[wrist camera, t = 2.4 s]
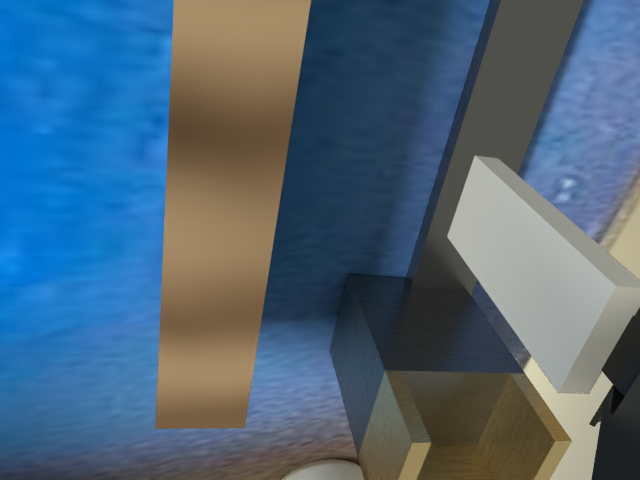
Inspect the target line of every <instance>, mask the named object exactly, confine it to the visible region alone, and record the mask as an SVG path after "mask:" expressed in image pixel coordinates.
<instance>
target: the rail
mask: <svg viewBox="0 0 640 480" xmlns="http://www.w3.org/2000/svg"><path fill="white" fill-rule="evenodd" d="M310 4H311V0H174V15H173V38H172V61H171V84H170V107H169V130H168V153H167V176H166V199H165V222H164V245H163V268H162V291H161V314H160V337H159V360H158V383H157V406H156V429H177V428H245V422H246V416H247V409H248V403H249V396H250V390H251V383H252V377H253V371H254V364H255V358H256V351H257V345H258V338H259V332H260V326H261V319H262V313H263V306H264V300H265V294H266V287H267V281H268V274H269V268H270V261H271V255H272V249H273V242H274V236H275V229H276V223H277V216H278V210H279V204H280V197H281V191H282V184H283V178H284V171H285V165H286V159H287V152H288V146H289V139H290V133H291V126H292V120H293V114H294V107H295V101H296V94H297V88H298V81H299V75H300V69H301V62H302V56H303V49H304V43H305V36H306V30H307V24H308V17H309V11H310Z"/></svg>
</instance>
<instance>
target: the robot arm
mask: <svg viewBox="0 0 640 480" xmlns="http://www.w3.org/2000/svg"><path fill="white" fill-rule="evenodd" d="M447 237H448V238H449V240H450V241H451V243H452V244H453V246H454V247H455V248H456V250H457V251H458V253H459V254H460V255H461V257H462V258H463V260H464V261H465V263H466V264H467V265H468V267H469V268H470V270H471V271H472V272H473V274H474V275H475V277H476V278H477V279H478V281H479V282H480V284H481V285H482V287H483V288H484V289H485V291H486V292H487V294H488V295H489V296H490V298H491V299H492V301H493V302H494V303H495V305H496V306H497V308H498V309H499V311H500V312H501V313H502V315H503V316H504V318H505V319H506V320H507V322H508V323H509V325H510V326H511V327H512V329H513V330H514V332H515V333H516V335H517V336H518V337H519V339H520V340H521V342H522V343H523V344H524V346H525V347H526V349H527V350H528V351H529V353H530V354H531V356H532V357H533V358H534V360H535V361H536V363H537V364H538V366H539V367H540V368H541V370H542V371H543V373H544V374H545V375H546V377H547V378H548V380H549V381H550V383H551V384H552V385H553V387H554V388H555V389H556V391H557V392H558V393H584V394H586V393H587V394H589V393H590V391H591V389H592V388H593V386H594V384H595V383H596V381H597V379H598V377H599V376H600V374H601V372H602V371H603V373H604V374H605V375H606V376H607V377H608V379H609V380H610V381H611V382H612V383H613V386H612V387H611V389H610V391H609V392H608V394H607V396H606V397H605V399H604V400H603V402H602V404H601V405H600V407H599V409H598V410H597V412H596V414H595V415H594V417H593V419H592V420H591V422H590V425H592V426H596V424H597V423H598V422H600V421H601V424H600V430H599V437H598V444H597V449H596V455H595V462H594V468H593V474H592V480H640V279H638V278H637V277H636V276H635V275H634V274H633V273H631V272H630V271H629V270H628V269H627V268H626V267H624V266H623V265H622V264H621V263H620V262H618V261H617V260H616V259H615V258H614V257H612V255H610V254H609V253H608V252H607V251H606V250H605V249H603V248H602V247H601V246H600V245H599V244H598V243H596V242H595V241H594V240H593V239H592V238H591V237H589V236H588V235H587V234H586V233H585V232H584V231H582V230H581V229H580V228H579V227H578V226H577V225H575V224H574V223H573V222H572V221H571V220H570V219H568V218H567V217H566V216H565V215H564V214H563V213H561V212H560V211H559V210H558V209H557V208H556V207H554V206H553V205H552V204H551V203H550V202H549V201H547V200H546V199H545V198H544V197H543V196H542V195H540V194H539V193H538V192H537V191H536V190H535V189H533V188H532V187H531V186H530V185H529V184H528V183H526V182H525V181H524V180H523V179H522V178H521V177H519V176H518V175H517V174H516V173H515V172H514V171H512V170H511V169H510V168H509V167H508V166H507V165H505V164H504V163H503V162H502V161H501V160H499V159H498V158H491V157H483V156H474V159H473V162H472V165H471V168H470V171H469V174H468V177H467V180H466V183H465V186H464V189H463V192H462V195H461V197H460V200H459V203H458V206H457V209H456V212H455V215H454V218H453V221H452V224H451V227H450V230H449V233H448V236H447Z"/></svg>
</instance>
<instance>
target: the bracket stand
mask: <svg viewBox="0 0 640 480" xmlns="http://www.w3.org/2000/svg"><path fill="white" fill-rule="evenodd" d="M583 2H584V0H490V3H489V7H488V10H487V13H486V16H485V20H484V23H483V26H482V30H481V33H480V36H479V39H478V43H477V46H476V49H475V53H474V56H473V59H472V62H471V66H470V69H469V72H468V76H467V79H466V82H465V85H464V89H463V92H462V95H461V99H460V102H459V105H458V108H457V112H456V115H455V118H454V122H453V125H452V128H451V131H450V135H449V138H448V141H447V144H446V148H445V151H444V154H443V158H442V161H441V164H440V167H439V171H438V174H437V177H436V181H435V184H434V187H433V190H432V194H431V197H430V200H429V204H428V207H427V210H426V213H425V217H424V220H423V223H422V227H421V230H420V233H419V236H418V240H417V243H416V246H415V250H414V253H413V256H412V259H411V263H410V266H409V269H408V272H407V276H406V277H390V276H375V275H359V274H348V277H347V281H346V285H345V290H344V294H343V298H342V302H341V306H340V310H339V314H338V318H337V323H336V327H335V331H334V335H333V339H332V343H331V347H330V353H331V357H332V361H333V364H334V368H335V372H336V376H337V380H338V383H339V387H340V391H341V395H342V398H343V402H344V406H345V410H346V414H347V417H348V421H349V425H350V429H351V432H352V436H353V440H354V444H355V448H356V451H357V455H358V459H359V463H360V466H361V470H362V474H363V478H364V480H549V479H550V478H551V476H552V474H553V472H554V471H555V469H556V467H557V466H558V464H559V462H560V460H561V459H562V457H563V455H564V454H565V452H566V450H567V448H568V447H569V445H570V443H571V442H572V441H571V439H570V438H569V436H568V435H567V433H566V432H565V430H564V429H563V428H562V426H561V425H560V424H559V422H558V421H557V419H556V418H555V416H554V415H553V413H552V412H551V411H550V409H549V408H548V406H547V405H546V403H545V402H544V400H543V399H542V397H541V396H540V394H539V393H538V392H537V390H536V389H535V387H534V386H533V384H532V383H531V382H530V380H529V379H528V377H527V376H526V374H525V373H524V371H523V370H522V369H521V367H520V366H519V364H518V363H517V361H516V360H515V358H514V357H513V356H512V354H511V353H510V351H509V350H508V348H507V347H506V346H505V344H504V343H503V341H502V340H501V338H500V337H499V335H498V334H497V333H496V331H495V330H494V328H493V327H492V325H491V324H490V322H489V321H488V320H487V318H486V317H485V315H484V314H483V312H482V311H481V310H480V308H479V307H478V305H477V304H476V302H475V301H474V299H473V298H472V297H471V295H472V293H473V290H474V288H475V285H476V282H477V280H478V279H477V278H476V277H475V275H474V274H473V272H472V271H471V270H470V268H469V267H468V265H467V264H466V263H465V261H464V260H463V258H462V257H461V255H460V254H459V253H458V251H457V250H456V248H455V247H454V246H453V244H452V243H451V241H450V240H449V238H448V237H447V236H448V233H449V230H450V227H451V224H452V221H453V218H454V215H455V212H456V209H457V206H458V203H459V200H460V197H461V195H462V192H463V189H464V186H465V183H466V180H467V177H468V174H469V171H470V168H471V165H472V162H473V159H474V156H483V157H491V158H498V159H499V160H501V161H502V162H503V163H504V164H505V165H507V166H508V167H509V168H510V169H511V170H512V171H514V172H515V173H516V174H517V175H518V172H519V170H520V167H521V164H522V162H523V159H524V156H525V154H526V151H527V149H528V146H529V143H530V141H531V138H532V135H533V133H534V130H535V128H536V125H537V122H538V120H539V117H540V114H541V112H542V109H543V107H544V104H545V101H546V99H547V96H548V93H549V91H550V88H551V86H552V83H553V80H554V78H555V75H556V72H557V70H558V67H559V65H560V62H561V59H562V57H563V54H564V52H565V49H566V46H567V44H568V41H569V38H570V36H571V33H572V31H573V28H574V25H575V23H576V20H577V17H578V15H579V12H580V10H581V7H582V4H583Z"/></svg>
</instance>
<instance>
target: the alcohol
mask: <svg viewBox="0 0 640 480" xmlns="http://www.w3.org/2000/svg"><path fill="white" fill-rule="evenodd" d="M281 480H364V478H363V474H362V470H361V467H360V466H359V465H357V464H355V463H352V462H350V461H345V460H340V459H326V460H318V461H314V462H310V463H307V464H304V465H301V466H299V467H297V468H295V469H293V470H292V471H290V472H289V473H287V474H286V475H285V476H284V477H283V478H282V479H281Z"/></svg>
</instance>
